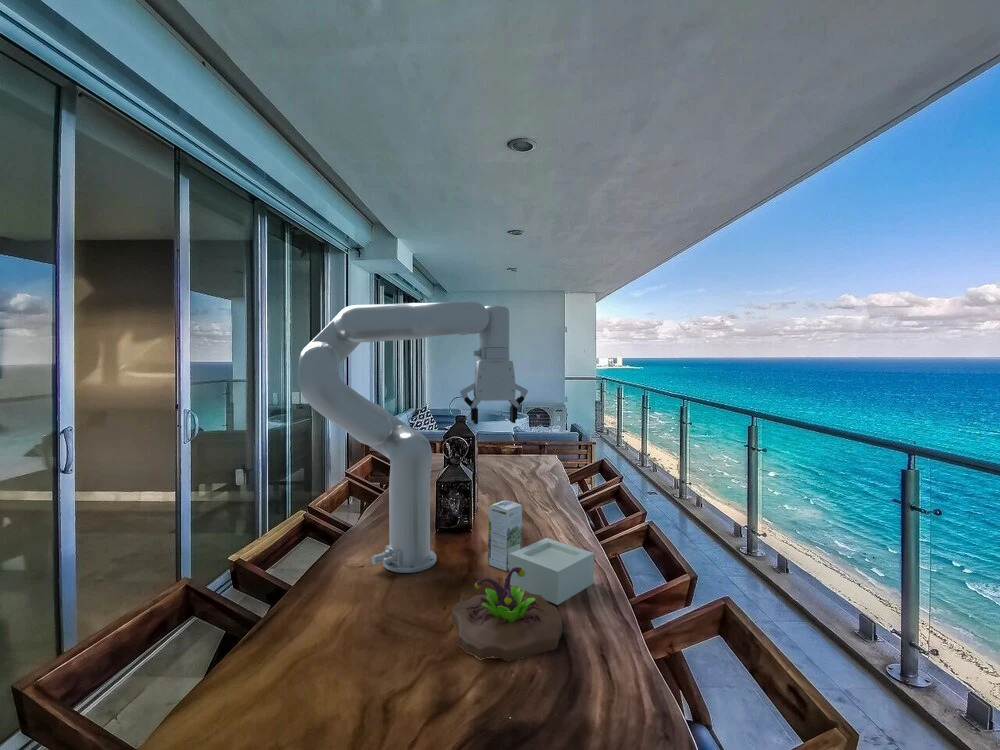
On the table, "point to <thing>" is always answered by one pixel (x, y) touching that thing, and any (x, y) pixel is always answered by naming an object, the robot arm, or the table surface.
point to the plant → (507, 622)
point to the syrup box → (503, 532)
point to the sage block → (552, 569)
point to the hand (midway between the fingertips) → (494, 423)
